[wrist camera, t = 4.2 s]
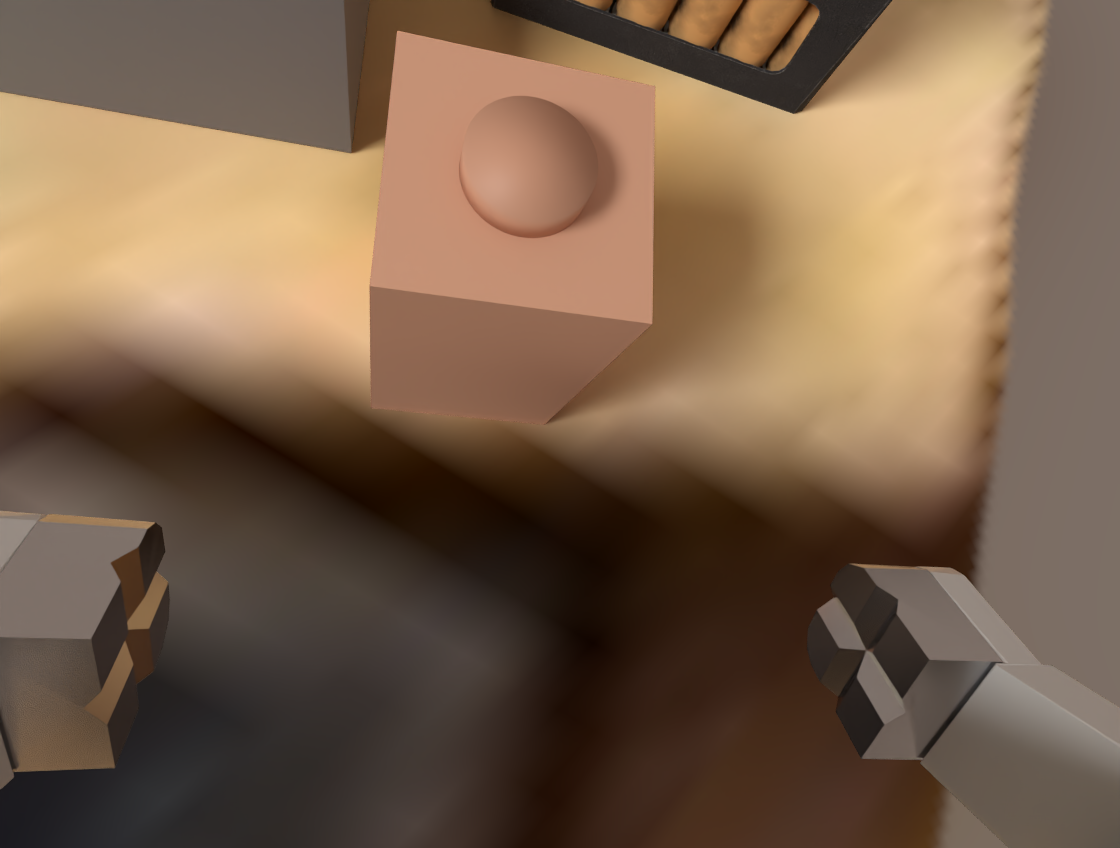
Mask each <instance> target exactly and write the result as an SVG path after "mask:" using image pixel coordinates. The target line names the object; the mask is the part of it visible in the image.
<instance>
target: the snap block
mask: <svg viewBox="0 0 1120 848" xmlns="http://www.w3.org/2000/svg"><path fill="white" fill-rule="evenodd" d="M654 134H655V86H651V85H647V84H642V83H638V82H633V81H628V80H624V79H619V78H614V77H610V76H605V75H601V74H596V73H591V72H587V71H582V70H577V69H573V68H568V67H564V66H559V65H554V64H550V63H545V62H540V61H536V60H531V59H527V58H522V57H517V56H513V55H508V54H503V53H499V52H494V51H490V50H485V49H480V48H476V47H471V46H466V45H462V44H457V43H453V42H448V41H443V40H439V39H434V38H429V37H425V36H420V35H416V34H411V33H406V32H402V31H397V37H396V46H395V56H394V65H393V74H392V83H391V93H390V102H389V111H388V120H387V130H386V139H385V148H384V158H383V167H382V176H381V185H380V195H379V204H378V213H377V222H376V232H375V241H374V250H373V260H372V269H371V278H370V365H371V408H377V409H388V410H398V411H408V412H419V413H429V414H440V415H450V416H460V417H471V418H481V419H491V420H502V421H512V422H523V423H533V424H543V425H545V424H546V423H547V422H548V421H549V420H550V419H551V418H552V417H553V416H554V415H555V414H556V413H557V412H558V411H560V410H561V409H562V408H563V407H564V406H565V405H566V404H567V403H568V402H569V401H570V400H571V399H572V398H574V397H575V396H576V395H577V394H578V393H579V392H580V391H581V390H582V389H583V388H584V387H585V386H586V385H587V384H589V383H590V382H591V381H592V380H593V379H594V378H595V377H596V376H597V375H598V374H599V373H600V372H601V371H602V370H604V369H605V368H606V367H607V366H608V365H609V364H610V363H611V362H612V361H613V360H614V359H615V358H616V357H617V356H619V355H620V354H621V353H622V352H623V351H624V350H625V349H626V348H627V347H628V346H629V345H630V344H631V343H633V342H634V341H635V340H636V339H637V338H638V337H639V336H640V335H641V334H642V333H643V332H644V331H645V330H646V329H648V328H649V327H650V326H651V325H652V315H653V224H654Z"/></svg>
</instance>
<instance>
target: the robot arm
mask: <svg viewBox="0 0 1120 848" xmlns="http://www.w3.org/2000/svg"><path fill="white" fill-rule="evenodd" d="M164 553H165V546H164V539H163V532H162V527H160V526H159V525H158V524H157V523H155V522H143V521H131V520H119V519H106V518H94V517H81V516H69V515H56V514H49V515H43V514H32V513H19V512H7V511H0V789H1V788H2V787H3V786H5V785H6V784H7V783H8V782H9V781H10V780H11V779H12V778H14V774H13V772H18V771H44V770H71V769H97V768H115V766H116V764H117V761H118V759H119V756H120V754H121V751H122V749H123V746H124V744H125V742H126V739H127V737H128V734H129V732H130V729H131V727H132V724H133V722H134V719H135V717H136V714H137V712H138V709H139V704H138V696H137V688H136V684H137V683H138V682H140V681H141V680H142V679H144V678H145V677H146V676H148V675H149V674H150V673H152V672H153V671H154V669H155V666H156V664H157V661H158V658H159V656H160V653H161V650H162V648H163V643H164V639H165V634H166V629H167V625H168V620H169V603H170V597H169V585H168V582H167V581H166V580H165V579H164V578H163V577H162V576H161V575H160V574H159V573H157V572H156V571H157V569H158V567H159V564H160V562H161V560H162V558H163V555H164ZM830 586H831V590H832V593H833V597H834V598H833V599H832V600H830V601H829V602H827V603H826V604H824V605H823V606H822V607H820V608H819V609H817V611H816V613H815V615H814V617H813V619H812V621H811V623H810V625H809V627H808V641H807V650H808V654H809V658H810V662H811V665H812V667H813V669H814V671H815V673H816V675H817V677H818V679H819V681H820V682H821V683H822V684H823V685H825V686H826V687H827V688H828V689H830V690H831V691H832V692H833V693H835V694H836V695H837V696H838V701H837V707H836V713H837V715H838V717H839V719H840V720H841V722H842V724H843V726H844V728H845V730H846V731H847V733H848V735H849V737H850V739H851V741H852V743H853V744H854V746H855V748H856V750H857V752H858V754H859V756H860V757H861V759H903V760H922V761H921V763H920V764H921V765H922V766H924V767H925V768H926V769H927V770H928V771H929V772H930V773H931V774H932V775H933V776H934V777H935V778H936V779H937V780H938V781H939V782H940V783H941V784H942V785H943V786H944V787H945V788H947V789H948V790H949V791H950V792H951V793H952V794H953V795H954V796H955V797H956V798H957V799H958V800H959V801H960V802H961V803H962V804H963V805H964V806H965V807H967V809H968V810H970V811H971V812H972V813H973V814H974V815H975V816H976V817H977V818H978V819H979V820H980V821H981V822H982V823H983V824H984V825H985V826H986V827H987V828H988V829H989V830H991V831H992V832H993V833H994V834H995V835H996V836H997V837H998V838H999V839H1000V840H1001V841H1002V842H1003V843H1004V844H1005V845H1006V846H1007V847H1008V848H1120V708H1119V707H1118V706H1116V705H1115V704H1113V703H1112V702H1110V701H1108V700H1107V699H1105V698H1103V697H1102V696H1100V695H1099V694H1097V693H1096V692H1094V691H1092V690H1091V689H1089V688H1088V687H1086V686H1084V685H1083V684H1081V683H1080V682H1078V681H1077V680H1075V679H1073V678H1072V677H1070V676H1068V675H1067V674H1065V673H1064V672H1062V671H1061V670H1059V669H1057V668H1056V667H1054V666H1053V665H1042V664H1041V663H1040V662H1039V661H1038V660H1037V659H1036V657H1035V656H1034V655H1033V654H1032V653H1031V652H1030V650H1029V649H1028V648H1027V647H1026V646H1025V645H1024V644H1023V642H1022V641H1021V640H1020V639H1019V638H1018V637H1017V636H1016V634H1015V633H1014V632H1013V631H1012V630H1011V629H1010V627H1009V626H1008V625H1007V624H1006V623H1005V622H1004V621H1003V619H1002V618H1001V617H1000V616H999V615H998V614H997V613H996V611H995V610H994V609H993V608H992V607H991V606H990V604H989V603H988V602H987V601H986V600H985V599H984V598H983V596H982V595H981V594H980V593H979V592H978V591H977V589H976V588H975V587H974V586H973V585H972V584H971V583H970V581H969V580H968V579H967V578H966V577H965V576H964V575H963V574H961V573H959V572H958V571H956V570H954V569H952V568H944V567H919V566H917V567H906V566H887V565H867V564H848V565H846V566H845V567H843V568H842V569H841V570H839V571H838V573H837V574H836V576H835V578H834V580H833V581H832V583H831V585H830Z"/></svg>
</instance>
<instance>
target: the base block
mask: <svg viewBox="0 0 1120 848" xmlns="http://www.w3.org/2000/svg"><path fill="white" fill-rule="evenodd" d="M369 2H370V0H0V91H1V92H7V93H12V94H18V95H24V96H29V97H35V98H41V99H46V100H52V101H58V102H64V103H69V104H75V105H81V106H86V107H92V108H98V109H103V110H109V111H115V112H120V113H126V114H132V115H138V116H143V117H149V118H155V119H160V120H166V121H172V122H177V123H183V124H189V125H194V126H200V127H206V128H211V129H217V130H223V131H229V132H234V133H240V134H246V135H251V136H257V137H263V138H268V139H274V140H280V141H285V142H291V143H297V144H303V145H308V146H314V147H320V148H325V149H331V150H337V151H342V152H348V153H351V152H352V143H353V135H354V127H355V118H356V110H357V102H358V93H359V85H360V77H361V68H362V60H363V52H364V43H365V35H366V27H367V18H368V10H369Z"/></svg>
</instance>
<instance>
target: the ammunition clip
mask: <svg viewBox="0 0 1120 848" xmlns="http://www.w3.org/2000/svg"><path fill="white" fill-rule="evenodd" d="M891 1H892V0H491V3H492V6H493V7H494V8H496V9H499V10H502V11H505V12H508V13H510V14H513V15H516V16H519V17H522V18H525V19H527V20H530V21H533V22H536V23H539V24H542V25H544V26H547V27H550V28H553V29H556V30H558V31H561V32H564V33H567V34H570V35H573V36H575V37H578V38H581V39H584V40H587V41H590V42H592V43H595V44H598V45H601V46H604V47H606V48H609V49H612V50H615V51H618V52H621V53H623V54H626V55H629V56H632V57H635V58H637V59H640V60H643V61H646V62H649V63H652V64H654V65H657V66H660V67H663V68H666V69H669V70H671V71H674V72H677V73H680V74H683V75H685V76H688V77H691V78H694V79H697V80H700V81H702V82H705V83H708V84H711V85H714V86H717V87H719V88H722V89H725V90H728V91H731V92H733V93H736V94H739V95H742V96H745V97H748V98H750V99H753V100H756V101H759V102H762V103H764V104H767V105H770V106H773V107H776V108H779V109H781V110H784V111H787V112H790V113H793V114H794V113H797V112H800V111H802V110H803V109H804V107H805V106H806V105H807V104H808V103H809V101H810V100H811V99H812V98H813V96H814V95H815V94H816V93H817V92H818V90H819V89H820V88H821V87H822V85H823V84H824V83H825V82H826V81H827V79H828V78H829V77H830V76H831V74H832V73H833V72H834V71H835V70H836V68H837V67H838V66H839V65H840V63H841V62H842V61H843V60H844V59H845V57H846V56H847V55H848V54H849V52H850V51H851V50H852V49H853V48H854V46H855V45H856V44H857V43H858V41H859V40H860V39H861V38H862V37H863V35H864V34H865V33H866V32H867V30H868V29H869V28H870V27H871V26H872V24H873V23H874V22H875V21H876V19H877V18H878V17H879V16H880V15H881V13H882V12H883V11H884V10H885V8H886V7H887V6H888V5H889V4H890V2H891Z"/></svg>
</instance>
